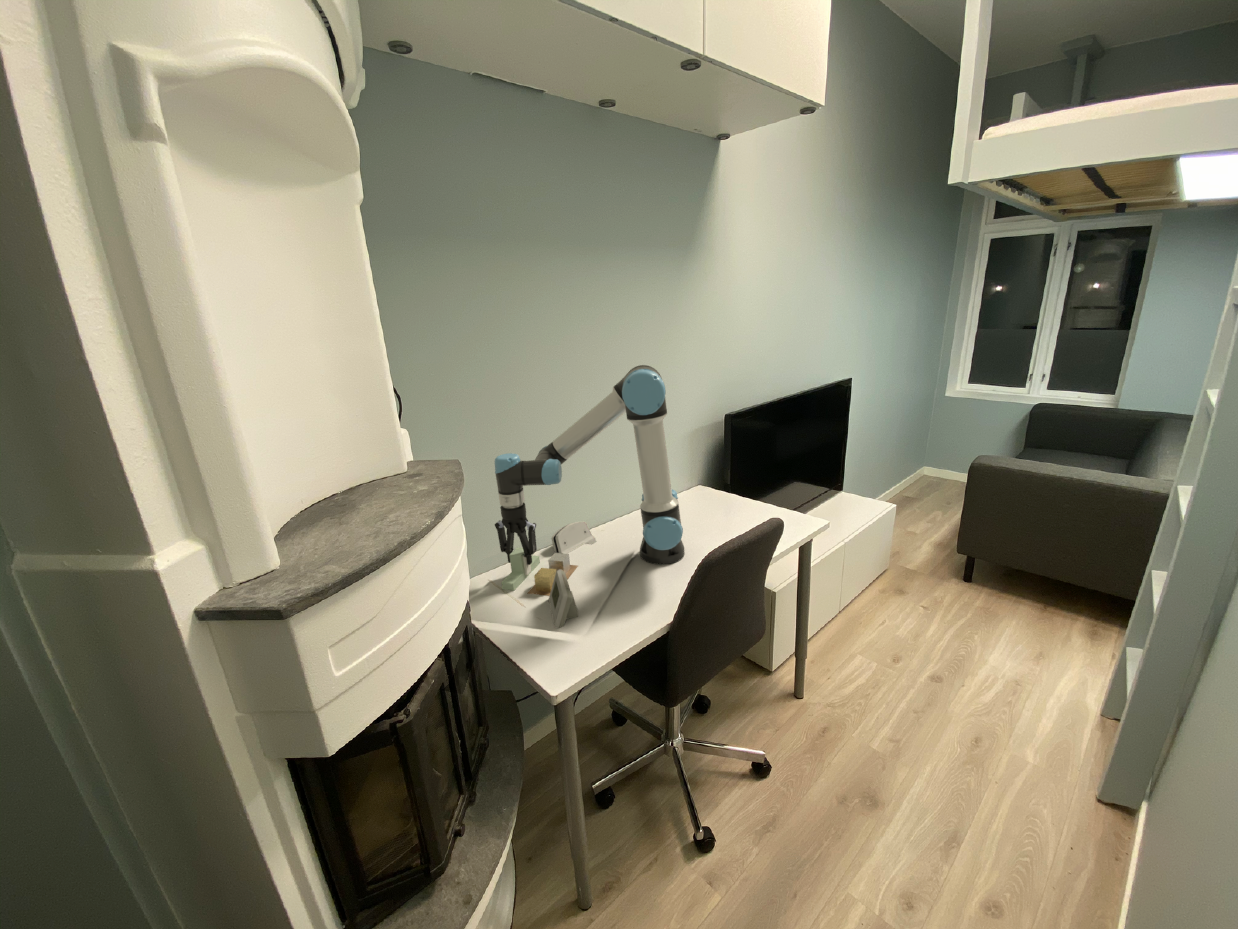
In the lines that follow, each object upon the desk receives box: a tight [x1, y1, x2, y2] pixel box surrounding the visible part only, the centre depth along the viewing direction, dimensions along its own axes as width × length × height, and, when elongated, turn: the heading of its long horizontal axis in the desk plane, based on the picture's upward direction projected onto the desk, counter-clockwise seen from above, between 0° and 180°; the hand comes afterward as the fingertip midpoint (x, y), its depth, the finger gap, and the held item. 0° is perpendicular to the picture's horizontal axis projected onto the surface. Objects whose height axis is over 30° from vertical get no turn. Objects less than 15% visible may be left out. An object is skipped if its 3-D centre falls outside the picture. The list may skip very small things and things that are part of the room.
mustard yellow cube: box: [533, 567, 556, 592], centre depth 157 cm, size 5×5×5 cm
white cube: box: [547, 552, 571, 574], centre depth 166 cm, size 5×5×5 cm
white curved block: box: [551, 521, 597, 554], centre depth 185 cm, size 17×5×10 cm, turn 141°
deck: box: [526, 564, 579, 597], centre depth 163 cm, size 9×19×2 cm, turn 162°
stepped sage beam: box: [501, 547, 541, 592], centre depth 165 cm, size 4×18×10 cm, turn 163°
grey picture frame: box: [548, 569, 579, 629], centre depth 144 cm, size 16×9×11 cm, turn 2°
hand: (521, 572), depth 165 cm, fingers closed on stepped sage beam, 4 cm apart
